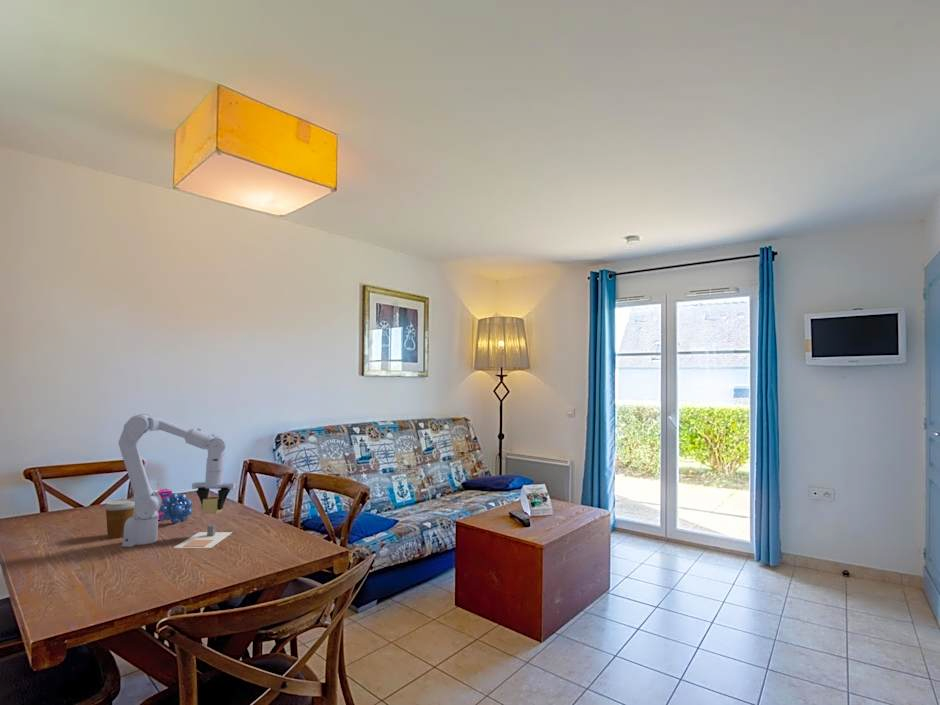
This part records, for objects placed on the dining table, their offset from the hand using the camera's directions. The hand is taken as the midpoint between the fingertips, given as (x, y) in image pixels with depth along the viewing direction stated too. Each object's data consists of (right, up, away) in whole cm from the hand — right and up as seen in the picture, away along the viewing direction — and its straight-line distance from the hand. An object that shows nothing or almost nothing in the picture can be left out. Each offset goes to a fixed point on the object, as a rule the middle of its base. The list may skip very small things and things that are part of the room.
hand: (212, 509), depth 181 cm
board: (0, -10, -6) cm, 11 cm away
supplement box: (-33, -11, +22) cm, 41 cm away
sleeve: (0, -1, 0) cm, 1 cm away
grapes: (-22, -11, +16) cm, 30 cm away
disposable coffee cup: (-33, -10, -1) cm, 35 cm away
